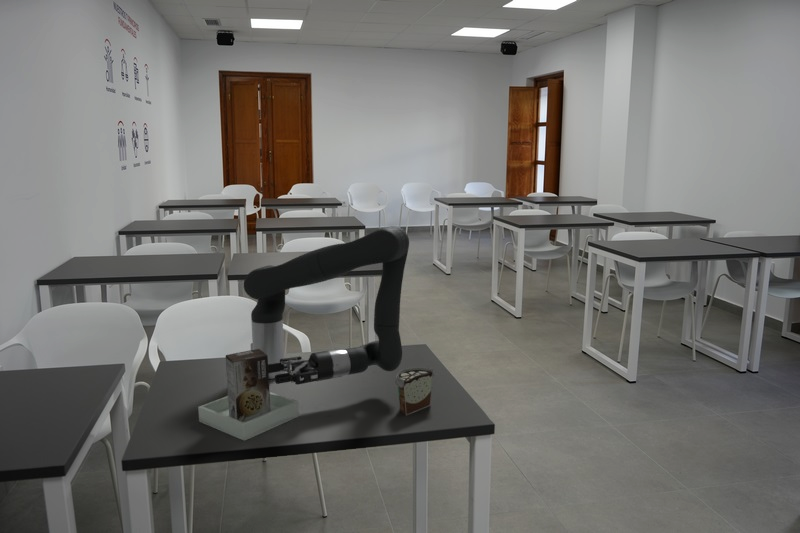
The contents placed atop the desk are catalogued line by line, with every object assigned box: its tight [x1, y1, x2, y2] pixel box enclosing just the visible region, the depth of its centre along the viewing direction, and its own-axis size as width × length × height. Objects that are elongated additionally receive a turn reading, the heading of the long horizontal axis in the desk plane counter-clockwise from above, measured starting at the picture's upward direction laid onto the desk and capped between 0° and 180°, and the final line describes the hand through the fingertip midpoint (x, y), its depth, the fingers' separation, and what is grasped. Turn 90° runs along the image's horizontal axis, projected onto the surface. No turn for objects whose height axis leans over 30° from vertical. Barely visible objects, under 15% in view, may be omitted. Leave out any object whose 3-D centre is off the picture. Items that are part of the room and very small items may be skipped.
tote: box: [197, 391, 300, 442], centre depth 163 cm, size 18×18×4 cm
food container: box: [395, 366, 436, 416], centre depth 170 cm, size 12×6×10 cm, turn 134°
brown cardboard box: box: [225, 349, 271, 422], centre depth 162 cm, size 9×6×16 cm
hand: (270, 374), depth 164 cm, fingers open, 8 cm apart
